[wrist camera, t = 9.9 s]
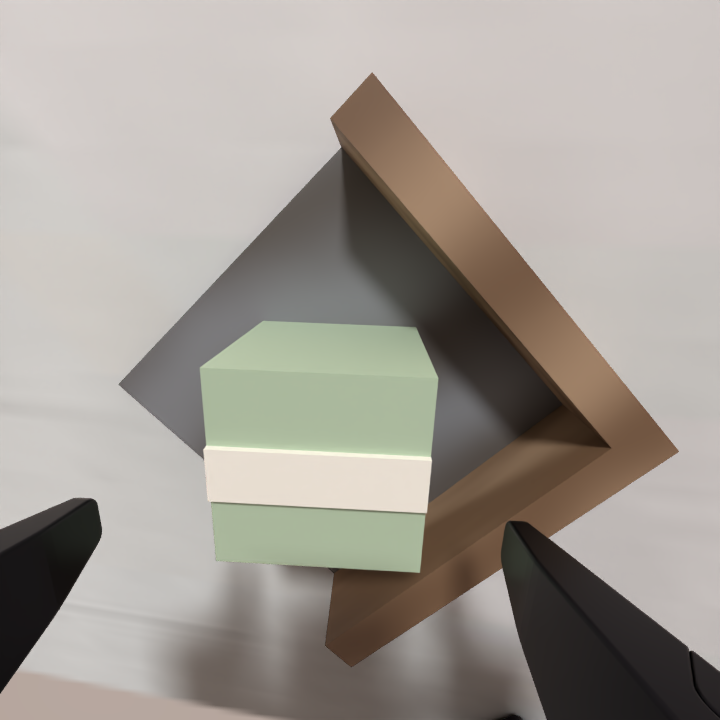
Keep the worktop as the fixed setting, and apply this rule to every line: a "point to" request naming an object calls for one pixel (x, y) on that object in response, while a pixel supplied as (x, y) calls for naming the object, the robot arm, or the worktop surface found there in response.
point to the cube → (320, 445)
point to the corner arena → (445, 349)
